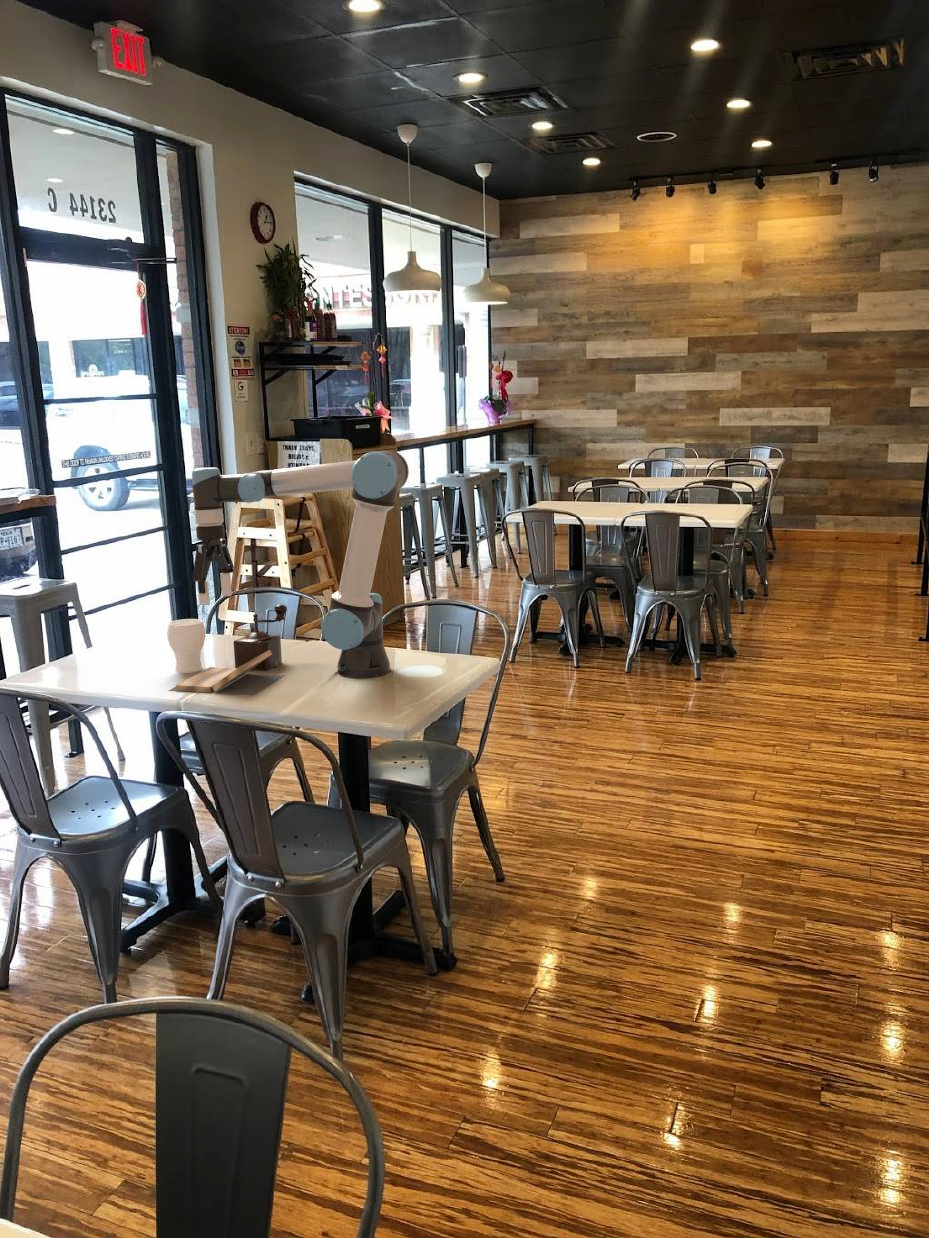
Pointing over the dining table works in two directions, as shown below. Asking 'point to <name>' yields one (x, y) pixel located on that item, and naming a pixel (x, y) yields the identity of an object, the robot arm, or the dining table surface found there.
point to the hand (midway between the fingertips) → (216, 600)
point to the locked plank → (204, 680)
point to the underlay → (245, 684)
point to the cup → (187, 643)
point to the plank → (241, 670)
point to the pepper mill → (260, 644)
